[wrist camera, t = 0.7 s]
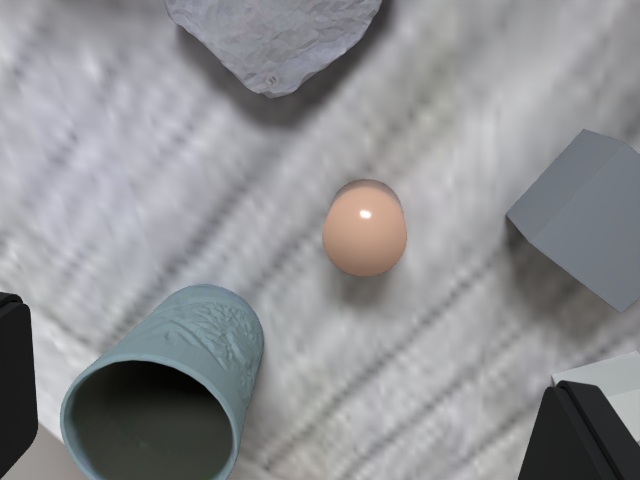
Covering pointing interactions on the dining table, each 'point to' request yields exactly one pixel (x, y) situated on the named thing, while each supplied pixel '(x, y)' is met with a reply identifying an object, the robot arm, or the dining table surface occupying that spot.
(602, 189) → the slate block
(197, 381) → the blue-grey cup
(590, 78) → the dining table surface
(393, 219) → the terracotta cylinder
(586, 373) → the pale grey block
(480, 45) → the dining table surface
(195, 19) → the stone block
